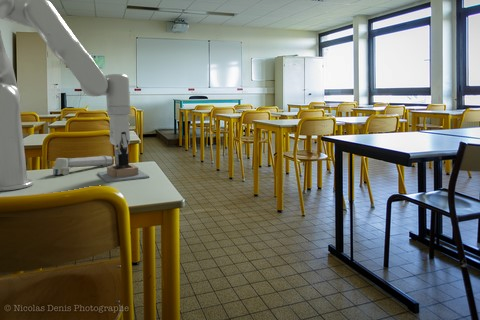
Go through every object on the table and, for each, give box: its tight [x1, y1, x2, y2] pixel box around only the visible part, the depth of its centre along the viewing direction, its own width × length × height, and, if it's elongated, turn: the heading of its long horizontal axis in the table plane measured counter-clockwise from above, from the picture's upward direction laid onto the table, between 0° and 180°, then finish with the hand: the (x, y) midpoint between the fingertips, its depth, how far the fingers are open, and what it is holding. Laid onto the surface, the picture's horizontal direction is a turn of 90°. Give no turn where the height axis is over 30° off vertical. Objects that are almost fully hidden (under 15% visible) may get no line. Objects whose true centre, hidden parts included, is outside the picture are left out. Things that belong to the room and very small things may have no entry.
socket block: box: [96, 163, 150, 183], centre depth 138 cm, size 14×16×3 cm
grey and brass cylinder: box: [113, 145, 130, 169], centre depth 137 cm, size 4×4×9 cm
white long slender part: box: [51, 155, 115, 176], centre depth 149 cm, size 5×7×25 cm
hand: (121, 163), depth 137 cm, fingers closed on grey and brass cylinder, 4 cm apart
